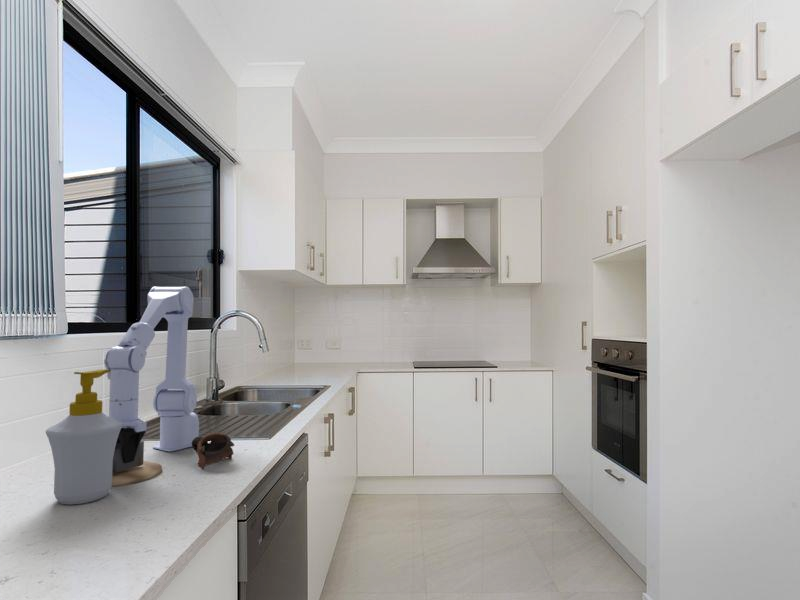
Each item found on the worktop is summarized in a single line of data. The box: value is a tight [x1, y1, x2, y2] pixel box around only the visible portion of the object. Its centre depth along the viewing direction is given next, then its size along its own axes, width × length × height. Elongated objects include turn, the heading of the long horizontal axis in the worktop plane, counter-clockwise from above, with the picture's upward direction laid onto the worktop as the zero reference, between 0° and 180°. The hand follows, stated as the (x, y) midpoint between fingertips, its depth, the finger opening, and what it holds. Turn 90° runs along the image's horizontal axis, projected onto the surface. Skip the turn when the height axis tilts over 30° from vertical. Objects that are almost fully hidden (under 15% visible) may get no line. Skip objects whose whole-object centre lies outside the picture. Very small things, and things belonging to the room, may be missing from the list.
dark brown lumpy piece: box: [192, 432, 235, 470], centre depth 119 cm, size 12×10×8 cm
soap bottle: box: [45, 368, 123, 505], centre depth 96 cm, size 13×13×25 cm
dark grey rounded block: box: [112, 440, 145, 473], centre depth 109 cm, size 12×4×5 cm, turn 149°
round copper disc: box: [111, 460, 163, 487], centre depth 110 cm, size 16×16×1 cm
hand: (122, 460), depth 110 cm, fingers closed on dark grey rounded block, 4 cm apart
